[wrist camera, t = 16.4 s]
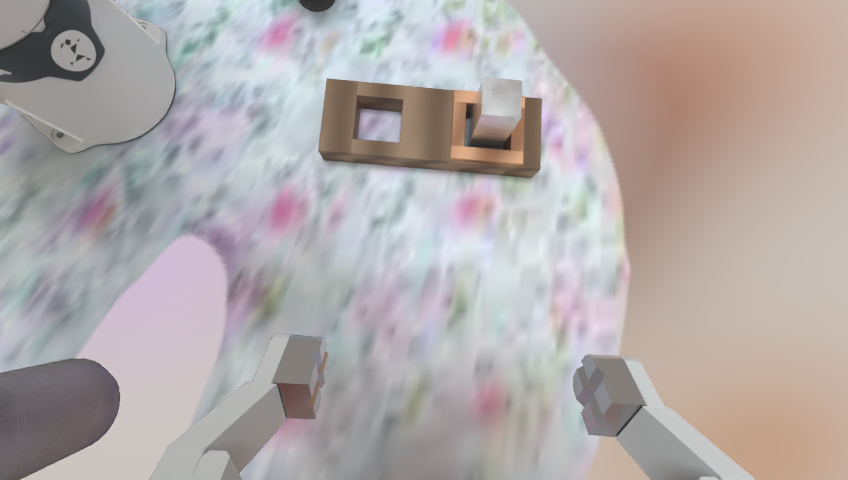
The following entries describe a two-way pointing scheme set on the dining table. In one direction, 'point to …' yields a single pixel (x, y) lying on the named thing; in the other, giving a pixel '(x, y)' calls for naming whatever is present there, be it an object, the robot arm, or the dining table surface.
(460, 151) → the walnut rail
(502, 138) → the steel post
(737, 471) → the robot arm
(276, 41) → the dining table surface
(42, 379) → the pillar candle
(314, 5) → the sundae
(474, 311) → the dining table surface
